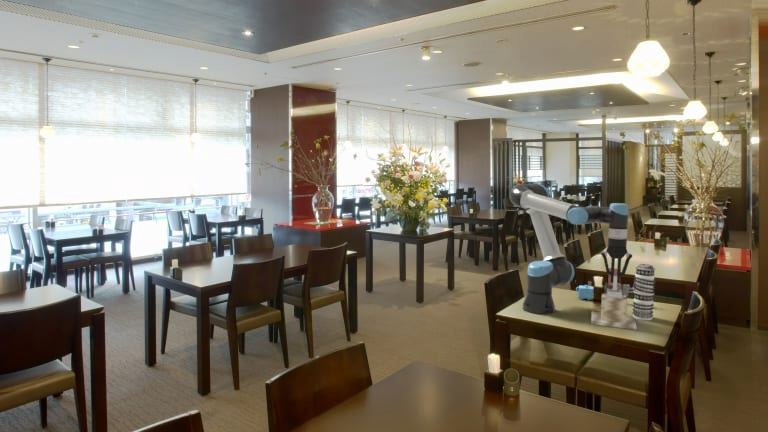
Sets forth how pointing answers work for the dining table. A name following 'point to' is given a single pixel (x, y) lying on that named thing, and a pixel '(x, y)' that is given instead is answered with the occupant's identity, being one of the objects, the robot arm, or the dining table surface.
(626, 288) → the mechanical component
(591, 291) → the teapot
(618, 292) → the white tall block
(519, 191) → the robot arm
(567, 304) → the dining table surface
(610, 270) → the keeper flap
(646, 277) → the black and white tower
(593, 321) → the hitch block
